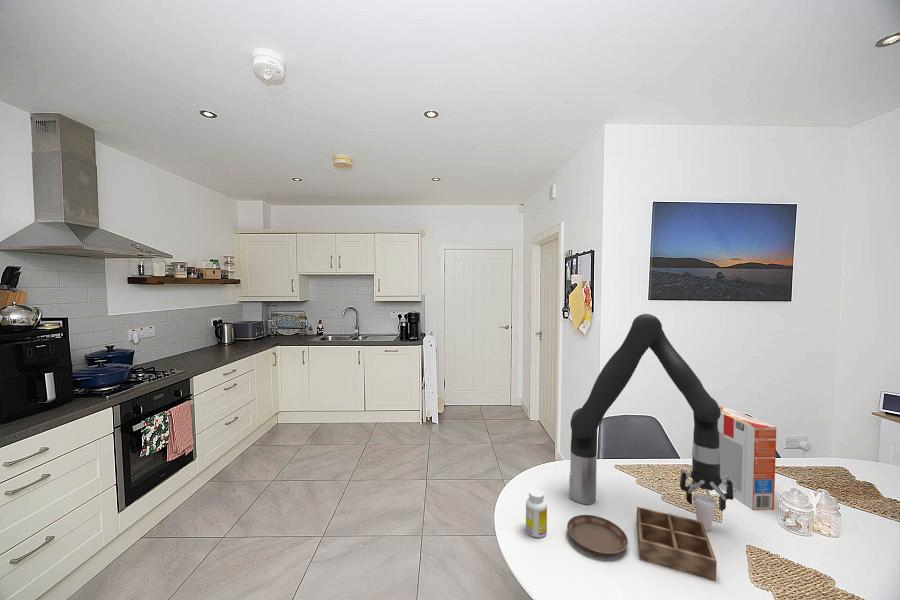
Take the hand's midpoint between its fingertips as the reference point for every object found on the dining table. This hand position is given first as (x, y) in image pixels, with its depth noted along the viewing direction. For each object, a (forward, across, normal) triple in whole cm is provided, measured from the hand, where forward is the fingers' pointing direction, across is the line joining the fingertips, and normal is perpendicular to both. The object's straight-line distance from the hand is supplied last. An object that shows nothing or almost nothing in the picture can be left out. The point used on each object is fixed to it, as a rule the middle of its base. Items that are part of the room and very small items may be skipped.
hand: (705, 506), depth 120 cm
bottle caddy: (+7, -11, -16) cm, 21 cm away
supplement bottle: (+7, -50, -26) cm, 57 cm away
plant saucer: (+7, -32, -22) cm, 40 cm away
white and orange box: (+8, +16, +31) cm, 35 cm away
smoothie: (+7, 0, 0) cm, 7 cm away
